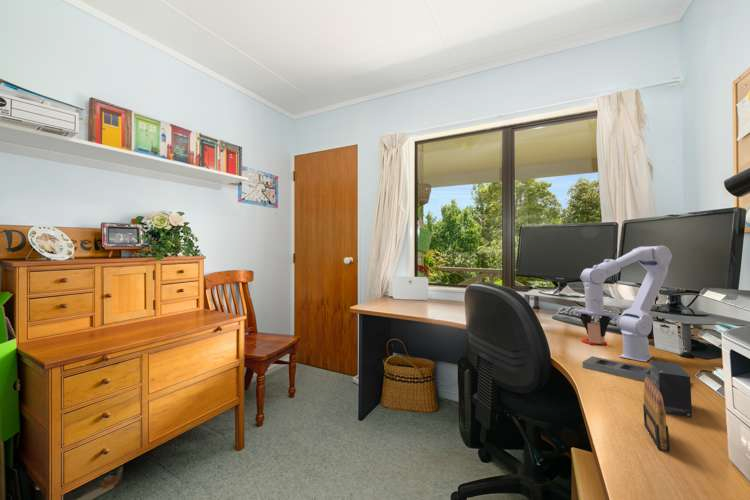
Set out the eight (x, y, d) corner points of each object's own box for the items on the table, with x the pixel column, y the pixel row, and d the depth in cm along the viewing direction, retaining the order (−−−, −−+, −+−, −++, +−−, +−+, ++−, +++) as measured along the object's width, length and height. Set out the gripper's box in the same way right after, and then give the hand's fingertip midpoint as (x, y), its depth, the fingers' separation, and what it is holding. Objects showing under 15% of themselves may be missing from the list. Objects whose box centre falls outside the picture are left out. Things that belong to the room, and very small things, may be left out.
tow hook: (578, 340, 146) (588, 345, 137) (576, 313, 147) (586, 315, 138) (597, 340, 145) (609, 345, 136) (595, 312, 146) (607, 315, 137)
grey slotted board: (592, 361, 117) (592, 356, 117) (689, 382, 96) (688, 375, 96) (582, 367, 112) (582, 361, 112) (683, 390, 91) (682, 383, 91)
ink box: (658, 347, 130) (657, 320, 131) (685, 354, 121) (683, 324, 121) (653, 348, 130) (651, 320, 130) (679, 354, 121) (677, 325, 121)
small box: (695, 419, 76) (692, 376, 76) (659, 413, 79) (657, 371, 79) (681, 401, 85) (679, 362, 85) (650, 396, 88) (648, 359, 88)
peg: (592, 339, 122) (591, 321, 122) (604, 341, 119) (603, 323, 119) (588, 341, 120) (587, 323, 120) (600, 343, 116) (599, 324, 116)
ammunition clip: (644, 424, 74) (640, 374, 75) (654, 426, 74) (650, 375, 74) (658, 449, 65) (654, 392, 65) (670, 452, 64) (666, 393, 64)
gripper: (568, 299, 123) (570, 333, 123) (613, 302, 111) (615, 340, 111) (576, 297, 127) (578, 330, 127) (619, 300, 115) (622, 336, 115)
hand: (596, 335), depth 119 cm, fingers closed on peg, 4 cm apart
